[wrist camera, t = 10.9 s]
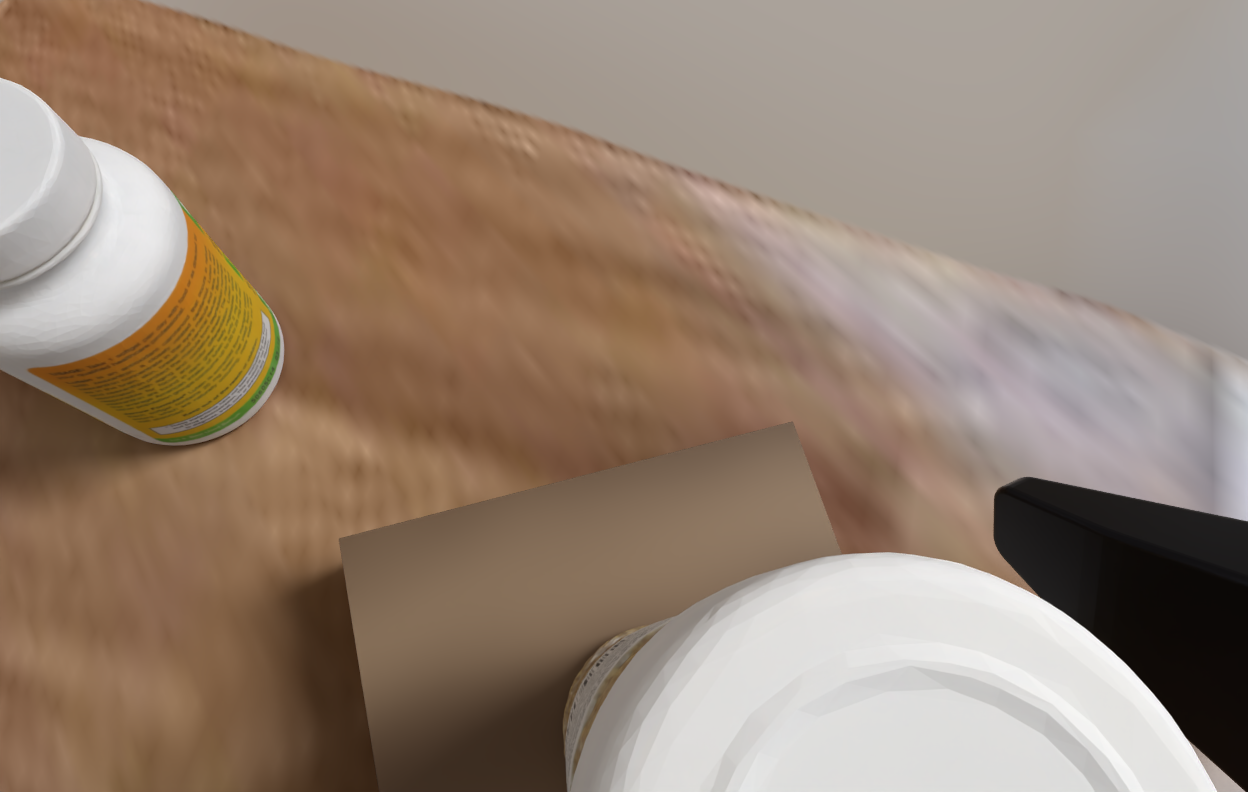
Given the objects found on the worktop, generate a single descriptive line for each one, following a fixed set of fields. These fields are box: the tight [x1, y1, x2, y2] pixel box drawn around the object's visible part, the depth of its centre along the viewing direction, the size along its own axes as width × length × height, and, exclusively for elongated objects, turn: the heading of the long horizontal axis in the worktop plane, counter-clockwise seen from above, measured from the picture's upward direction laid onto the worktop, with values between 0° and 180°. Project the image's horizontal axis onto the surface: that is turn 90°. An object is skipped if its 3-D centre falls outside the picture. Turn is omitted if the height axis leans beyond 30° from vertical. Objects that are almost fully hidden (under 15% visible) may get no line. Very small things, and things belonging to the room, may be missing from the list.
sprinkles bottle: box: [563, 552, 1217, 792], centre depth 11 cm, size 5×5×14 cm
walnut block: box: [339, 422, 842, 792], centre depth 18 cm, size 12×12×3 cm
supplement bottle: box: [0, 78, 284, 445], centre depth 18 cm, size 5×5×10 cm
